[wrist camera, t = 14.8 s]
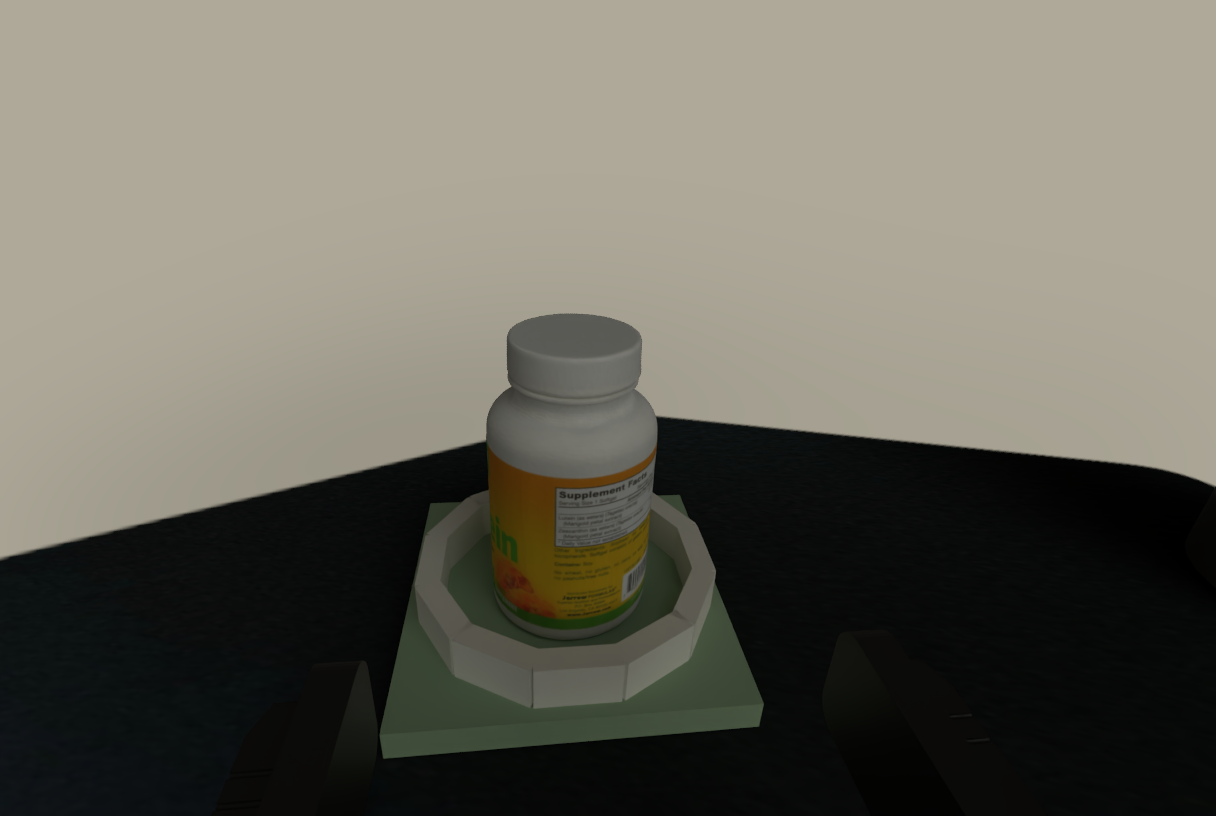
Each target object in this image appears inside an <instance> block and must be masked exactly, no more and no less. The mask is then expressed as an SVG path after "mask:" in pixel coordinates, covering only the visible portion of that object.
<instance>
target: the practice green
mask: <svg viewBox="0 0 1216 816" xmlns="http://www.w3.org/2000/svg"><path fill="white" fill-rule="evenodd" d="M715 575H716V569H715V567H714V565H713V562H712V560H711V557H710V555H709V553H708V550H707V548H706V545H705V543H704V541H703V538H702V536H701V533H700V531H699V529H698V526H697V525H695V522H693V521H692V520H690V519H689V517H688V515H687V512H686V510H685V507H684V505H683V502H682V500H681V497H680V495H667V496H657V495H656V494H654V493H653V492H652V499H651V511H650V523H649V535H648V545H647V557H646V568H645V577H644V584H643V590H642V595H641V598H640V600H639V602H638V605H637V606H636V608H635V609H634V611H633V612H632V613H631V614H630V615H629V616H628V618H626V619H625V620H624V621H623V622H622V623H620V624H619V625H618V626H616V627H615V628H613V629H611V630H609V631H607V632H605V633H602V634H599V635H596V636H593V637H589V638H584V639H576V640H557V639H550V638H546V637H542V636H539V635H535V634H533V633H531V632H528V631H526V630H524V629H522V628H521V627H519V626H518V625H516V624H515V623H513V622H512V621H511V620H510V619H509V618H508V617H507V616H506V615H505V614H504V612H503V611H502V610H501V608H500V606H499V605H498V602H497V600H496V597H495V593H494V585H493V574H492V549H491V523H490V502H489V490H487V491H484V492H481V493H478V494H475V495H472V496H470V498H466V499H465V500H464V501H463V502H456V503H431V504H430V509H429V513H428V518H427V522H426V527H425V531H424V536H423V540H422V545H421V549H420V554H419V558H418V563H417V567H416V572H415V576H414V581H413V585H412V590H411V595H410V599H409V604H408V608H407V613H406V617H405V622H404V626H403V631H402V635H401V640H400V644H399V649H398V653H397V658H396V662H395V667H394V671H393V676H392V680H391V685H390V689H389V694H388V698H387V703H386V707H385V712H384V716H383V721H382V725H381V730H380V734H379V735H380V741H381V747H382V753H383V759H385V758H397V757H408V756H420V755H432V754H443V753H455V752H467V751H479V750H490V749H502V748H514V747H525V746H537V745H549V744H560V743H572V742H584V741H596V740H607V739H619V738H631V737H642V736H654V735H666V734H677V733H689V732H701V731H713V730H724V729H736V728H748V727H759V723H760V718H761V714H762V709H763V705H764V703H763V701H762V698H761V696H760V693H759V691H758V688H757V686H756V683H755V681H754V679H753V676H752V674H751V671H750V669H749V666H748V664H747V661H746V659H745V656H744V654H743V651H742V649H741V646H740V644H739V641H738V639H737V636H736V634H735V631H734V629H733V626H732V624H731V621H730V619H729V616H728V614H727V612H726V609H725V607H724V604H723V602H722V599H721V597H720V594H719V592H718V589H717V587H716V584H715V582H714V581H715Z"/></svg>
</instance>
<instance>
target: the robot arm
mask: <svg viewBox="0 0 1216 816" xmlns="http://www.w3.org/2000/svg"><path fill="white" fill-rule="evenodd" d="M1185 549H1186V553H1187V556H1188V558H1189V559H1190V561H1191V562H1192V564H1193V566H1194V567H1195V569H1196V570H1197V571H1198V572H1199V573H1200V574H1201V575H1202V576H1203V577H1204V578H1205V579H1206V580H1207V581H1208V582H1209V583H1210V584H1211V585H1212V586H1214V587H1215V588H1216V487H1215V489H1214V490H1213V492H1212V494H1211V496H1210V497H1209V499H1208V501H1207V503H1206V505H1205V506H1204V508H1203V510H1202V512H1201V513H1200V515H1199V517H1198V519H1197V521H1196V522H1195V524H1194V526H1193V528H1192V529H1191V531H1190V533H1189V535H1188V537H1187V539H1186V542H1185ZM822 704H823V711H824V716H825V720H826V723H827V726H828V728H829V731H830V733H831V735H832V737H833V739H834V741H835V743H836V745H837V747H838V749H839V751H840V753H841V755H842V757H843V759H844V761H845V763H846V765H847V767H848V770H849V772H850V774H851V776H852V778H853V780H854V782H855V784H856V786H857V788H858V790H859V792H860V794H861V796H862V798H863V800H864V802H865V804H866V806H867V808H868V810H869V812H870V814H871V816H1048V815H1047V814H1046V812H1045V811H1044V810H1043V808H1042V807H1041V806H1040V804H1039V803H1038V802H1037V800H1036V799H1035V798H1034V796H1033V795H1032V793H1031V792H1030V791H1029V789H1028V788H1027V787H1026V785H1025V784H1024V783H1023V781H1022V780H1021V779H1020V777H1019V776H1018V774H1017V773H1016V772H1015V770H1014V769H1013V768H1012V766H1011V765H1010V764H1009V762H1008V761H1007V760H1006V758H1005V757H1004V755H1003V754H1002V753H1001V751H1000V750H999V749H998V747H997V746H996V745H995V743H991V742H990V740H989V735H988V734H987V732H986V731H985V730H984V728H983V727H982V726H981V724H980V723H979V722H978V720H977V719H976V718H973V717H972V715H971V711H970V709H969V708H968V707H967V705H966V704H965V703H964V701H963V700H962V699H961V697H960V696H959V694H958V693H957V692H956V690H955V689H954V688H953V686H952V685H951V684H950V683H949V682H948V681H947V680H946V679H944V678H943V677H942V676H941V675H940V674H938V673H937V672H936V671H935V670H933V669H932V668H931V667H930V666H929V665H927V664H926V663H925V662H924V661H922V660H921V659H918V660H910V658H909V657H908V656H907V654H906V653H905V651H904V650H903V648H902V647H901V645H900V644H899V643H898V641H897V640H896V638H895V637H894V636H893V635H892V634H891V633H890V632H889V631H887V630H884V629H880V630H864V631H849V632H842V633H841V634H840V635H839V637H838V639H837V642H836V646H835V650H834V653H833V657H832V660H831V664H830V667H829V671H828V674H827V678H826V681H825V685H824V688H823V694H822ZM377 741H378V728H377V719H376V713H375V707H374V701H373V696H372V690H371V684H370V678H369V672H368V667H367V664H366V662H365V661H350V662H334V663H318V664H315V665H314V666H313V667H312V668H311V670H310V672H309V674H308V677H307V679H306V682H305V685H304V687H303V690H302V693H301V696H300V698H299V701H298V702H285V703H274V704H273V705H272V706H271V707H270V709H269V710H268V711H267V712H266V713H265V714H264V715H263V717H262V718H261V719H260V720H259V721H258V722H257V723H256V725H255V726H254V727H253V728H252V729H251V730H250V732H249V733H248V734H247V735H246V737H245V739H244V741H243V744H242V746H241V748H240V751H239V753H238V755H237V758H236V760H235V762H234V764H233V767H232V769H231V771H230V778H229V780H227V781H226V783H225V785H224V787H223V790H222V792H221V794H220V797H219V799H218V801H217V808H216V810H215V811H214V812H213V813H212V815H211V816H364V812H365V808H366V803H367V798H368V794H369V789H370V785H371V780H372V776H373V771H374V766H375V761H376V754H377Z"/></svg>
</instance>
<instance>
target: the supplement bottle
mask: <svg viewBox="0 0 1216 816" xmlns="http://www.w3.org/2000/svg"><path fill="white" fill-rule="evenodd" d="M641 350H642V339H641V336H640V334H639V332H638V331H637V330H636V329H634V328H633V327H632V326H630V325H628V324H626V323H624V322H621V321H618V320H615V319H612V318H607V317H602V316H596V315H588V314H553V315H546V316H539V317H536V318H531V319H527V320H524V321H522V322H520V323H518V324H516V325H515V326H514V327H512V329H510V331H509V332H508V336H507V370H508V381H509V383H510V384H511V386H512V387H511V388H509V389H507V390H506V391H504V392H503V393H502V394H501V395H500V396H499V397H498V398H497V399H496V400H495V402H494V403H493V405H492V407H491V408H490V411H489V414H488V417H487V434H486V442H487V460H488V481H489V502H490V523H491V549H492V574H493V585H494V593H495V597H496V600H497V602H498V605H499V606H500V608H501V610H502V611H503V612H504V614H505V615H506V616H507V617H508V618H509V619H510V620H511V621H512V622H513V623H515V624H516V625H518V626H519V627H521V628H522V629H524V630H526V631H528V632H531V633H533V634H535V635H539V636H542V637H546V638H550V639H557V640H576V639H584V638H589V637H593V636H596V635H599V634H602V633H605V632H607V631H609V630H611V629H613V628H615V627H616V626H618V625H619V624H620V623H622V622H623V621H624V620H625V619H626V618H628V616H629V615H630V614H631V613H632V612H633V611H634V609H635V608H636V606H637V605H638V602H639V600H640V598H641V595H642V590H643V584H644V577H645V568H646V557H647V545H648V535H649V523H650V511H651V499H652V489H653V478H654V467H655V457H656V447H657V420H656V416H655V413H654V411H653V409H652V407H651V405H650V403H649V402H648V401H647V400H646V399H645V397H644V396H642V395H641V394H640V393H639V392H638V391H636V390H635V389H634V388H635V387H636V386H637V384H638V379H639V377H640V374H641Z"/></svg>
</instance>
